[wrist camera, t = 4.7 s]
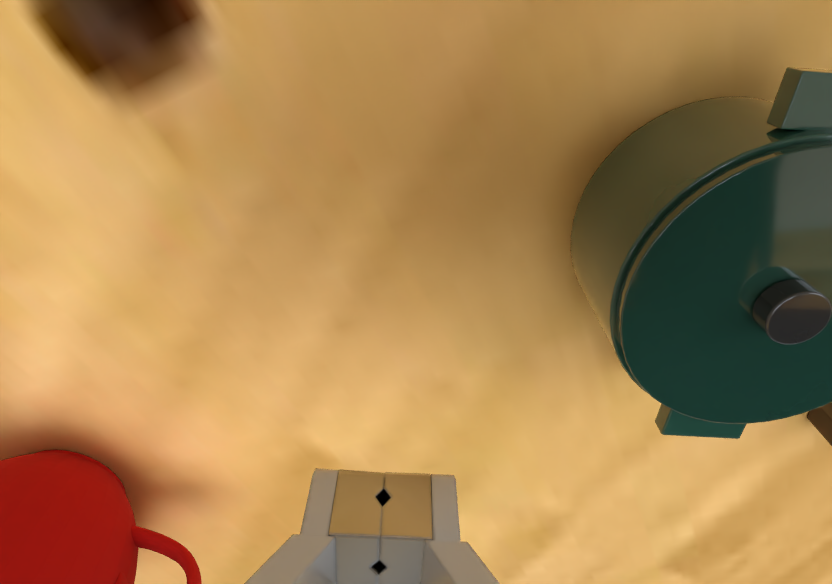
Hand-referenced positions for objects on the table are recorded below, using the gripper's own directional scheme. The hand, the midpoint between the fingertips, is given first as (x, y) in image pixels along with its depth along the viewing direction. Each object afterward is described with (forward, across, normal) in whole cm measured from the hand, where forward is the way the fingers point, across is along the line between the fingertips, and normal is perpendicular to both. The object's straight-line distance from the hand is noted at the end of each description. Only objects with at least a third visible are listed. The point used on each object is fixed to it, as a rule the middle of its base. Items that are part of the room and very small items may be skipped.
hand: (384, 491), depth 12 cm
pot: (+16, -14, 0) cm, 21 cm away
